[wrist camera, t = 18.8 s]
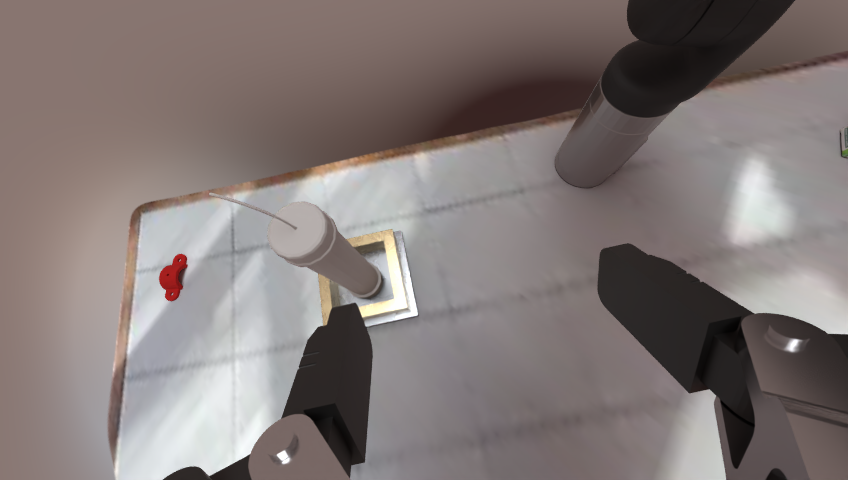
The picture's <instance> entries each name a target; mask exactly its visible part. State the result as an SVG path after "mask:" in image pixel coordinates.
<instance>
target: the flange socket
mask: <svg viewBox="0 0 848 480" xmlns="http://www.w3.org/2000/svg"><path fill="white" fill-rule="evenodd" d="M346 240H347V241H348V242H349V243H350V244H351V245H352V246H353V247H354V248H355V249H356V250H357V251H358V252H359V253H360V254H361V255H362V256H363V257H364V258H365V259H366V260H367V261H368V262H369V263H372V264H374V265H375V266H376V267H377V268H378V269H379V271H380V272H381V275H382V277H383V285H382V288H381V290H380V291H379V293H378V294H377V295H376V296H374V297H372V298H367V299H363V298H358V297H356V296H353V295H352V294H351V293H350V292H349V291H348V290H347V289H346V288H344V287H342V286H341V285H339V284H337V283H335V282H333V281H331V280H330V279H328V278H326V277H324V276H322V275H320V274H319V273H318V278H319V288H320V297H321V307H322V317H323V326H325V325H327V322H328V318H329V315H330V311H331V309H332V308H333V307H337V306H342V305H346V304H351V303H356V304H357V305H358V307H359V309H360V312H361V315H362V318H363V320H364V323H365V326H366V327H370V326H374V325H379V324H383V323H388V322H392V321H397V320H401V319H406V318H410V317H415V316H418V311H417V306H416V301H415V296H414V291H413V286H412V281H411V276H410V271H409V266H408V261H407V256H406V251H405V246H404V241H403V236H402V232H401V231H396V232H393V230H392V229H390V230H385V231H381V232H376V233H372V234H367V235H363V236H359V237H354V238H350V239H346Z"/></svg>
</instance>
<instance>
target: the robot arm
mask: <svg viewBox="0 0 848 480" xmlns="http://www.w3.org/2000/svg"><path fill="white" fill-rule="evenodd" d="M794 1H795V0H629V2H628V8H627V21H628V26H629V29H630V30H631V32H632V34H633V35H634V36H635V37H636V38H637V39H639V40H638V41H635V42H632V43H631V44H628V45H627V46H625V47H623V48H622V49H621V50H619V51H618V52H617V53H616V54H615V56H614V57H613V58H612V60H611V61H610V63H609V64H608V66H607V68H606V69H605V71H604V73H603V75H602V76H601V78H600V80H599V81H598V83H597V85H596V87H595V88H594V90H593V92H592V94H591V95H590V97H589V99H588V101H587V102H586V104H585V106H584V108H583V109H582V111H581V113H580V114H579V116H578V118H577V120H576V121H575V123H574V125H573V127H572V128H571V130H570V132H569V133H568V135H567V137H566V139H565V140H564V142H563V144H562V146H561V147H560V149H559V151H558V153H557V155H556V158H555V166H556V170H557V172H558V174H559V175H560V176H561V177H562V179H564V180H565V181H566V182H568V183H570V184H571V185H574V186H577V187H583V188H588V187H594V186H597V185H599V184H601V183H602V182H603V181H605V180H606V179H607V178H608V177H609V176H610V175H611V174H614V173H615V172H616V171H617V170H618V169H619V168H620V167H621V166H622V165H623V164H624V163H625V162H626V161H627V160H628V159H629V158H630V157H631V156H632V155H633V154H634V153H635V152H636V151H637V150H638V149H639V148H640V147H641V146H642V145H643V144H644V143H645V142H646V141H647V140H648V135H649V134H650V133H651V132H652V131H653V130H654V129H655V128H656V127H657V126H658V125H659V124H660V123H661V122H662V121H663V120H664V119H665V118H666V117H667V116H668V115H669V114H670V113H671V112H672V111H673V110H674V109H675V108H676V107H677V106H678V105H679V104H680V103H681V102H684V101H686V100H688V99H690V98H692V97H693V96H695V95H696V94H698V93H699V92H700V91H702V90H703V89H704V88H705V87H706V86H707V85H708V84H709V83H710V82H711V81H713V80H714V79H715V78H716V77H717V76H718V75H719V74H720V73H721V72H723V71H724V70H725V69H726V68H727V67H728V66H729V65H730V64H731V63H733V62H734V61H735V60H736V59H737V58H738V57H739V56H740V55H742V54H743V53H744V52H745V51H746V50H747V49H748V48H749V47H750V46H752V45H753V44H754V43H755V42H756V41H757V40H758V39H759V38H760V37H761V36H762V35H763V34H764V33H766V32H767V31H768V30H769V29H770V27H771V26H773V24H774V23H775V22H776V21H777V20H778V19H779V18H780V17H781V16H782V15H783V14H784V13H785V12H786V11H787V9H788V8H789V7H790V6H791V5H792V3H793V2H794ZM598 294H599V298H600V300H601V302H602V304H603V305H604V306H605V307H606V309H607V310H608V311H609V312H610V313H611V314H612V315H613V316H614V317H615V318H616V319H617V320H618V321H619V322H620V323H621V324H622V325H623V326H624V327H625V328H626V329H627V330H628V331H629V332H630V333H631V334H632V335H633V336H634V337H635V338H636V339H637V340H638V341H639V342H640V343H641V344H642V345H643V346H644V347H645V348H646V350H647V351H648V352H649V353H650V354H651V355H652V356H653V357H654V358H655V359H656V360H657V361H658V362H659V363H660V364H661V365H662V366H663V367H664V368H665V369H666V370H667V371H668V372H669V373H670V374H671V375H672V376H673V377H674V378H675V379H676V380H677V381H678V382H679V383H680V384H681V385H682V386H683V387H684V388H685V389H686V390H687V391H688V393H693V392H698V391H703V390H707V389H710V390H711V391H712V392H713V393H714V394H715V395H716V398H715V401H714V408H715V414H716V420H717V426H718V431H719V437H720V443H721V449H722V455H723V461H724V467H725V473H726V480H848V335H847V334H827V333H826V332H825V331H823V330H821V329H820V328H818V327H816V326H814V325H812V324H810V323H807V322H805V321H802V320H799V319H796V318H793V317H789V316H784V315H779V314H771V313H758V314H754V313H752V312H751V311H749V310H748V309H746V308H744V307H743V306H741V305H739V304H738V303H736V302H735V301H733V300H731V299H730V298H728V297H727V296H725V295H723V294H722V293H720V292H718V291H717V290H715V289H714V288H712V287H710V286H709V285H707V284H706V283H704V282H700V280H699V279H698V278H696V277H694V276H693V275H691V274H687V273H686V271H685V270H683V269H681V268H680V267H678V266H677V265H675V264H673V263H672V262H670V261H667V260H664V259H661V258H658V257H655V256H653V255H647V254H646V253H644V252H643V251H641V250H640V249H638V248H637V247H635V246H633V245H632V244H628V243H627V244H622V245H618V246H613V247H609V248H604V249H602V250H601V252H600V258H599V273H598ZM372 358H373V353H372V344H371V340H370V336H369V334H368V331H367V328H366V326H365V323H364V320H363V318H362V315H361V312H360V309H359V307H358V305H357V304H356V303H351V304H346V305H342V306H337V307H333V308H332V309H331V311H330V315H329V318H328V322H327V325H325V326H320V327H318V328H317V329H316V330H315V332H314V333H313V334H312V335H311V337H310V338H309V339H308V341H307V344H306V347H305V350H304V353H303V357H302V359H301V362H300V365H299V369H298V370H297V373H296V376H295V379H294V382H293V385H292V388H291V391H290V394H289V397H288V400H287V403H286V406H285V409H284V412H283V415H282V418H281V419H280V420H278V421H277V422H275V423H274V424H273V425H271V426H270V427H269V428H268V429H267V430H266V431H265V432H264V433H263V434H262V435H261V436H260V438H259V439H258V440H257V442H256V444H255V445H254V447H253V449H252V451H251V454H250V455H248V456H246V457H245V458H243V459H241V460H239V461H237V462H235V463H233V464H232V465H230V466H228V467H226V468H224V469H222V470H220V471H218V472H216V473H215V474H213V475H211V476H208V475H207V474H206V473H205V472H204V471H203V470H202V469H201V468H199V467H186V468H183V469H180V470H178V471H176V472H174V473H172V474H170V475H169V476H167V477H166V478H164V479H163V480H350V472H351V465H355V464H359V463H364V462H365V453H366V440H367V426H368V412H369V399H370V385H371V372H372Z"/></svg>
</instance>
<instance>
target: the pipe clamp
mask: <svg viewBox="0 0 848 480" xmlns="http://www.w3.org/2000/svg"><path fill="white" fill-rule="evenodd" d="M180 259H181V261H180V262H179V260H180ZM186 262H187V257H186V256H185V255H183V254H178V255H176V256H175V258H174V259H173V263H172V265H169V266H166V267H165V268H163V270H162V271H161V273H160V276H159V282H160V285H161V286H162V288H164V289H165V290H166V294H165V298H166V299H167V300H168V301H174V300H176V299H177V298H178V297H179V294H180V290H181V289H183V286H182V285H181V284H180V283H179V279H178V276H179V273H180V271H181V270H182V269H184V268H187V266H188V265H187V264H186ZM172 293H173V295H171V294H172Z"/></svg>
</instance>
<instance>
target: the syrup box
mask: <svg viewBox="0 0 848 480" xmlns="http://www.w3.org/2000/svg"><path fill="white" fill-rule="evenodd" d="M840 133H841V142H842V157H847V158H848V126H846V127H845V128H843V129H841V130H840Z"/></svg>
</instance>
